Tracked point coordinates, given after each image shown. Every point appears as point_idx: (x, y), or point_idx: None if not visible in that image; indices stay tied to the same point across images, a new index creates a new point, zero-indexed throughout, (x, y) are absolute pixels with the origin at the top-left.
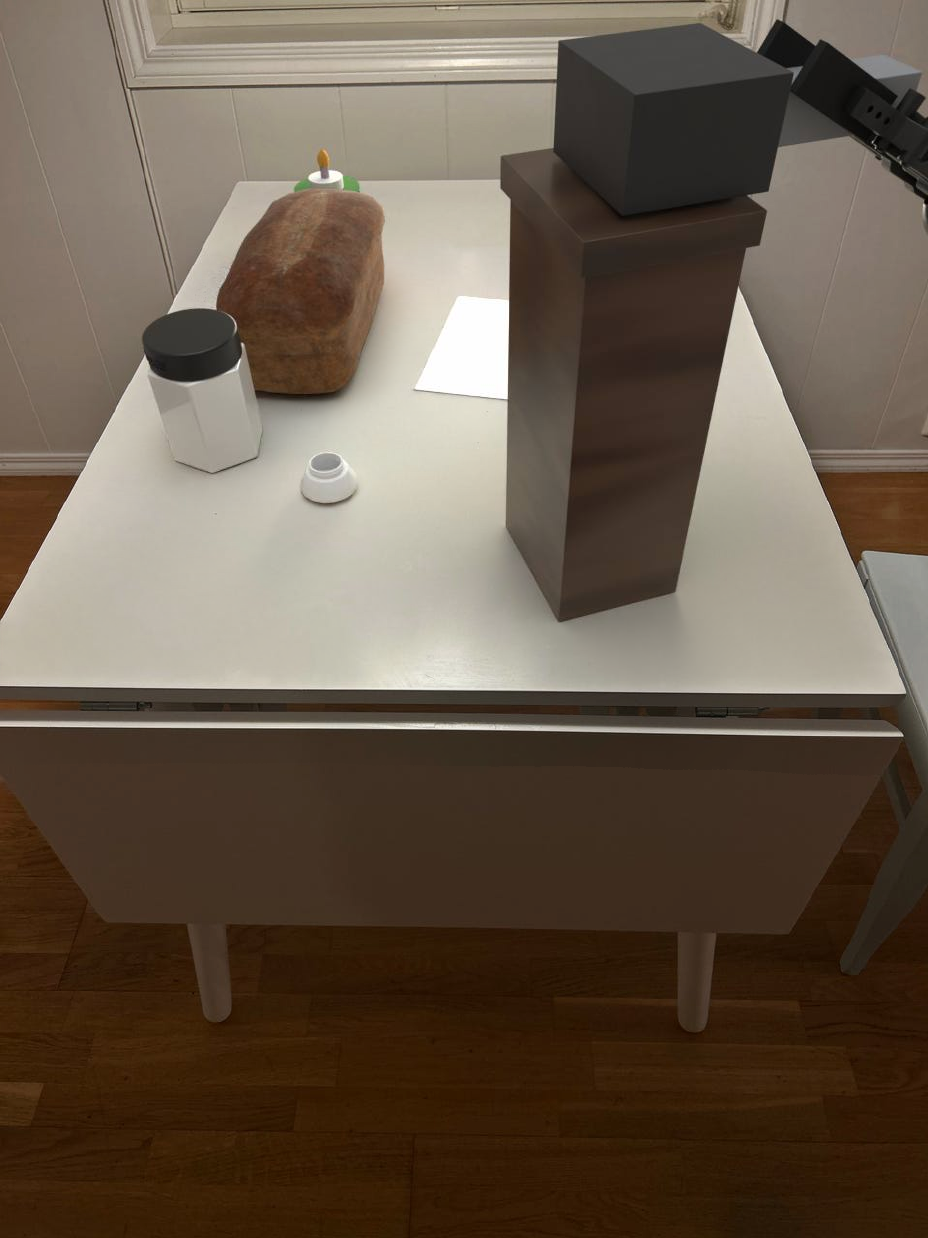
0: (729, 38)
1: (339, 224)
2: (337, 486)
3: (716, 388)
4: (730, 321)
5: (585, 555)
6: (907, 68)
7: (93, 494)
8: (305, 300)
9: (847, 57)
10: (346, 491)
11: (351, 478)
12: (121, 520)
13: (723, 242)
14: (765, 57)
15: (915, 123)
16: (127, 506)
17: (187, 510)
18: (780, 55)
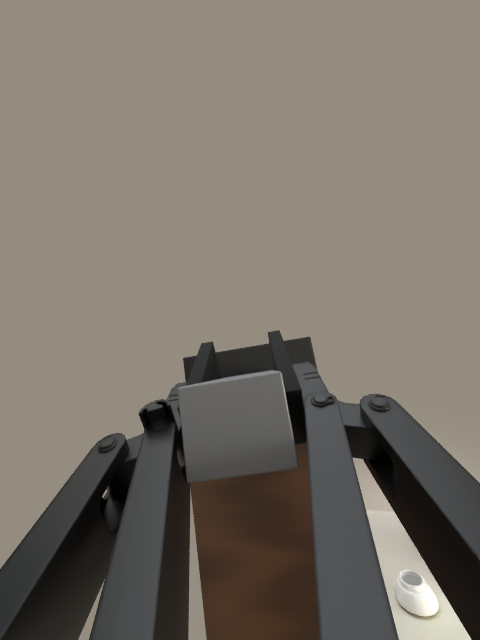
0: (264, 344)
1: None
2: (400, 592)
3: (204, 612)
4: (196, 537)
5: None
6: (202, 383)
7: (394, 514)
8: None
9: (197, 355)
10: (403, 602)
11: (413, 602)
12: (376, 523)
13: None
14: (216, 352)
15: (132, 438)
16: (386, 524)
17: (385, 541)
18: (272, 358)
